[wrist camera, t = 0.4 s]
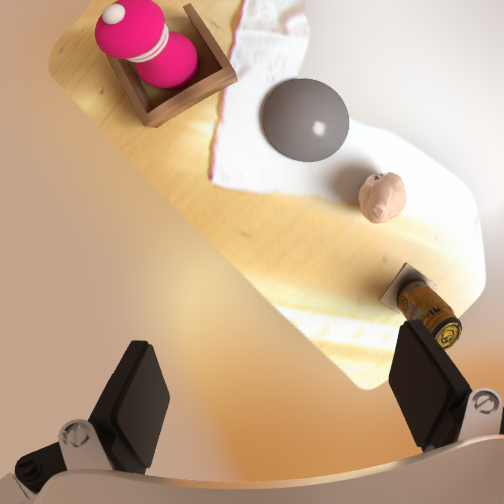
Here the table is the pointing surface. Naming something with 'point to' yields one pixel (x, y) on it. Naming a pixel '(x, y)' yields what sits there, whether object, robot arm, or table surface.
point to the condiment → (423, 305)
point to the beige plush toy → (382, 197)
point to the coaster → (306, 120)
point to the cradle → (186, 97)
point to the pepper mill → (147, 43)
